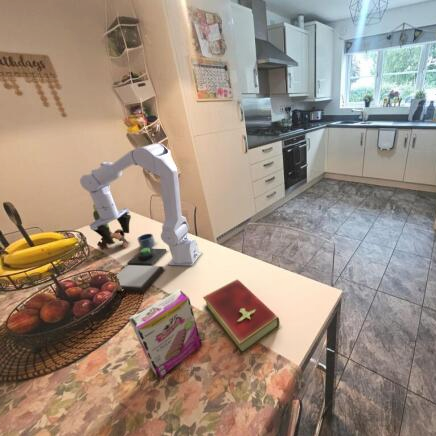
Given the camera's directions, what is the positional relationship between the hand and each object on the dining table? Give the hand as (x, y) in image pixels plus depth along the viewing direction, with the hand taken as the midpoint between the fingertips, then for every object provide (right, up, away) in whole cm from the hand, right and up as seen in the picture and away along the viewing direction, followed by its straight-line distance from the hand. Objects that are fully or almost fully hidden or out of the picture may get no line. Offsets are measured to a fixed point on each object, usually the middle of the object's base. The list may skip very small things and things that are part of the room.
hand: (118, 237), depth 95 cm
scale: (+12, -14, -9) cm, 21 cm away
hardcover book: (+53, -21, -25) cm, 62 cm away
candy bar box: (+40, -27, -35) cm, 59 cm away
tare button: (+10, -6, +2) cm, 12 cm away
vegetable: (-15, +6, +11) cm, 20 cm away
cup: (+5, -5, +12) cm, 14 cm away
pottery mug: (-9, -5, +13) cm, 16 cm away
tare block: (+10, -9, +3) cm, 13 cm away
